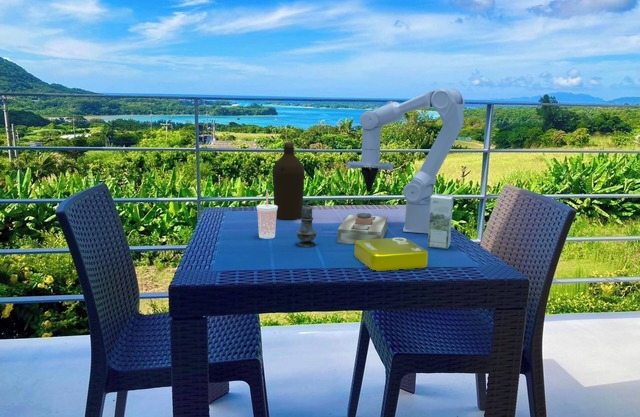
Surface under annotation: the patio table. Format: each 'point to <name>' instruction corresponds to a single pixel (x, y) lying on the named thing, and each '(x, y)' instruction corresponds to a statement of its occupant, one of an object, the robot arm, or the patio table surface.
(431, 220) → the syrup box
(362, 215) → the beige grey-dot cube
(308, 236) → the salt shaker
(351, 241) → the grey square block
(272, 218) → the beverage cup
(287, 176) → the olive oil
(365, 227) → the cube with pale circle
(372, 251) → the element tile
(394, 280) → the patio table surface
